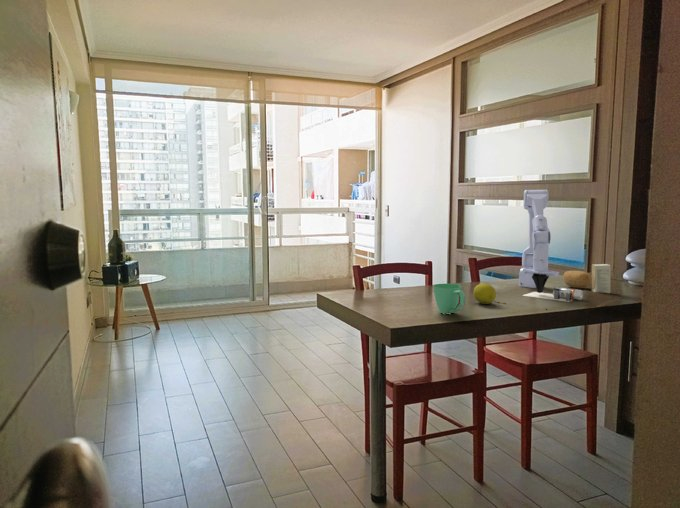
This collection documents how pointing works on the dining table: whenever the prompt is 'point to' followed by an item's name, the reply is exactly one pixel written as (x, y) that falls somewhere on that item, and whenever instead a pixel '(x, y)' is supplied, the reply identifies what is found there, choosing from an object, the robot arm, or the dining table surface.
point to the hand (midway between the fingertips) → (539, 292)
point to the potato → (577, 279)
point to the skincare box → (601, 278)
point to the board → (544, 296)
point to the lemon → (484, 293)
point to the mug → (449, 297)
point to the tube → (574, 292)
